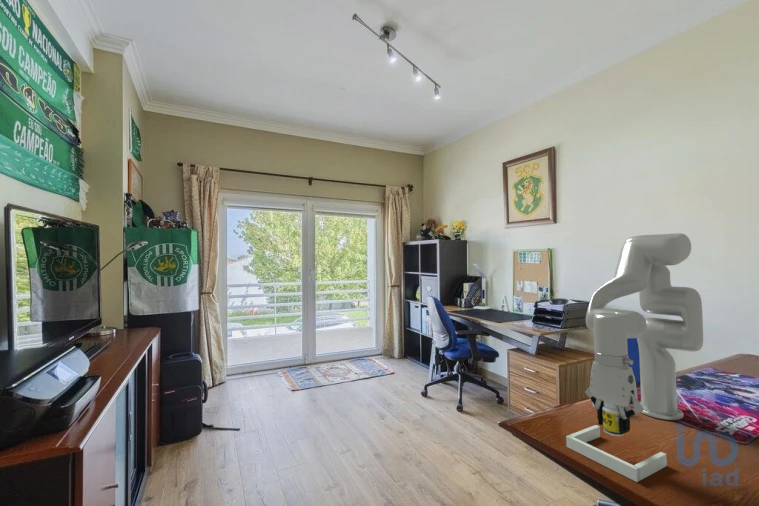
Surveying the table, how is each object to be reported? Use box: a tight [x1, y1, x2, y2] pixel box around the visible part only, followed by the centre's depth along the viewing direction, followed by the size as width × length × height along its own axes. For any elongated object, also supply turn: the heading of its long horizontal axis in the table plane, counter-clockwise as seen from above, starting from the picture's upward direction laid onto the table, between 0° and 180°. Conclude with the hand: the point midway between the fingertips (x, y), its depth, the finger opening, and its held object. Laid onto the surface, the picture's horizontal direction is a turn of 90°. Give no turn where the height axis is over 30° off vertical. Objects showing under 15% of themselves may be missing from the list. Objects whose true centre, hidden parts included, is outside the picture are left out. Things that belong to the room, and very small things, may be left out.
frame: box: [565, 424, 668, 483], centre depth 94 cm, size 13×18×3 cm
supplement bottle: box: [602, 401, 625, 437], centre depth 95 cm, size 5×5×8 cm
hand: (613, 427), depth 94 cm, fingers closed on supplement bottle, 4 cm apart
